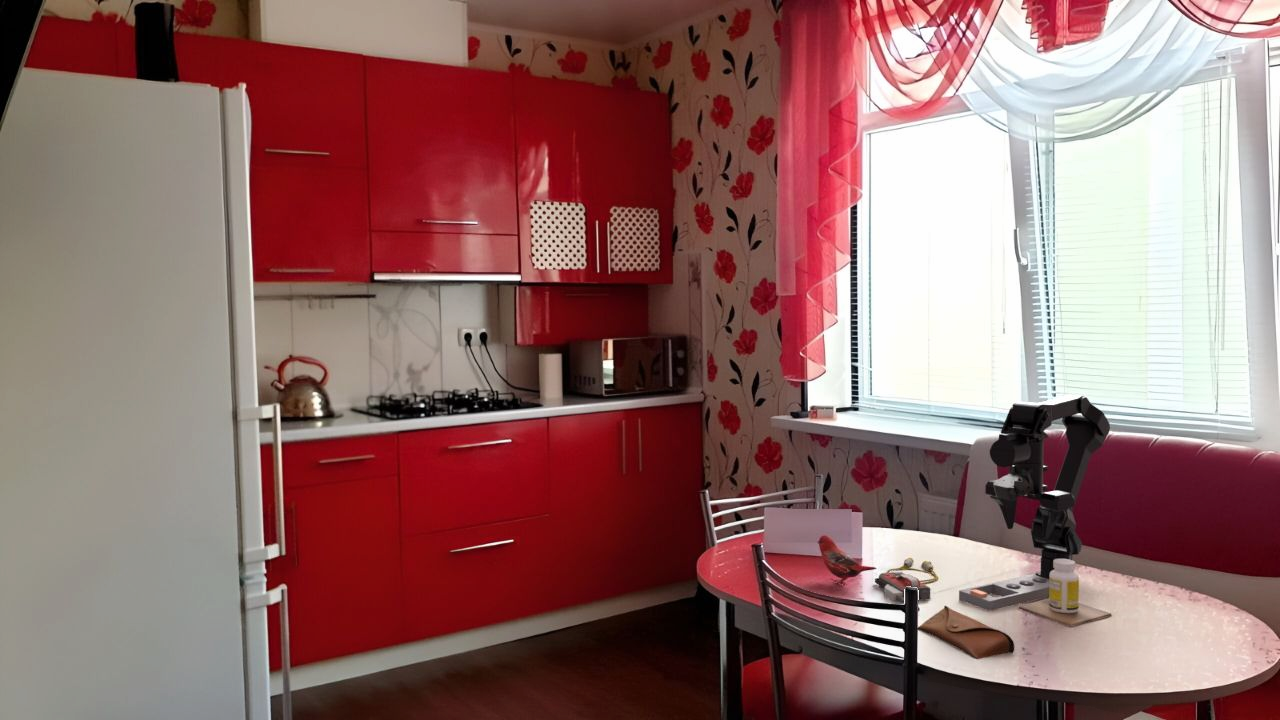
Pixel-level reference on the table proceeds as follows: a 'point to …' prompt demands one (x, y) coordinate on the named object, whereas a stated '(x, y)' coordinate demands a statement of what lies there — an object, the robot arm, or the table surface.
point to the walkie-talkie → (901, 586)
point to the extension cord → (925, 565)
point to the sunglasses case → (968, 634)
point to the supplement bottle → (1064, 587)
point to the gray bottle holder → (1006, 592)
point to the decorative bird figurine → (839, 560)
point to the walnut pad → (1067, 619)
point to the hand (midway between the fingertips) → (1027, 533)
